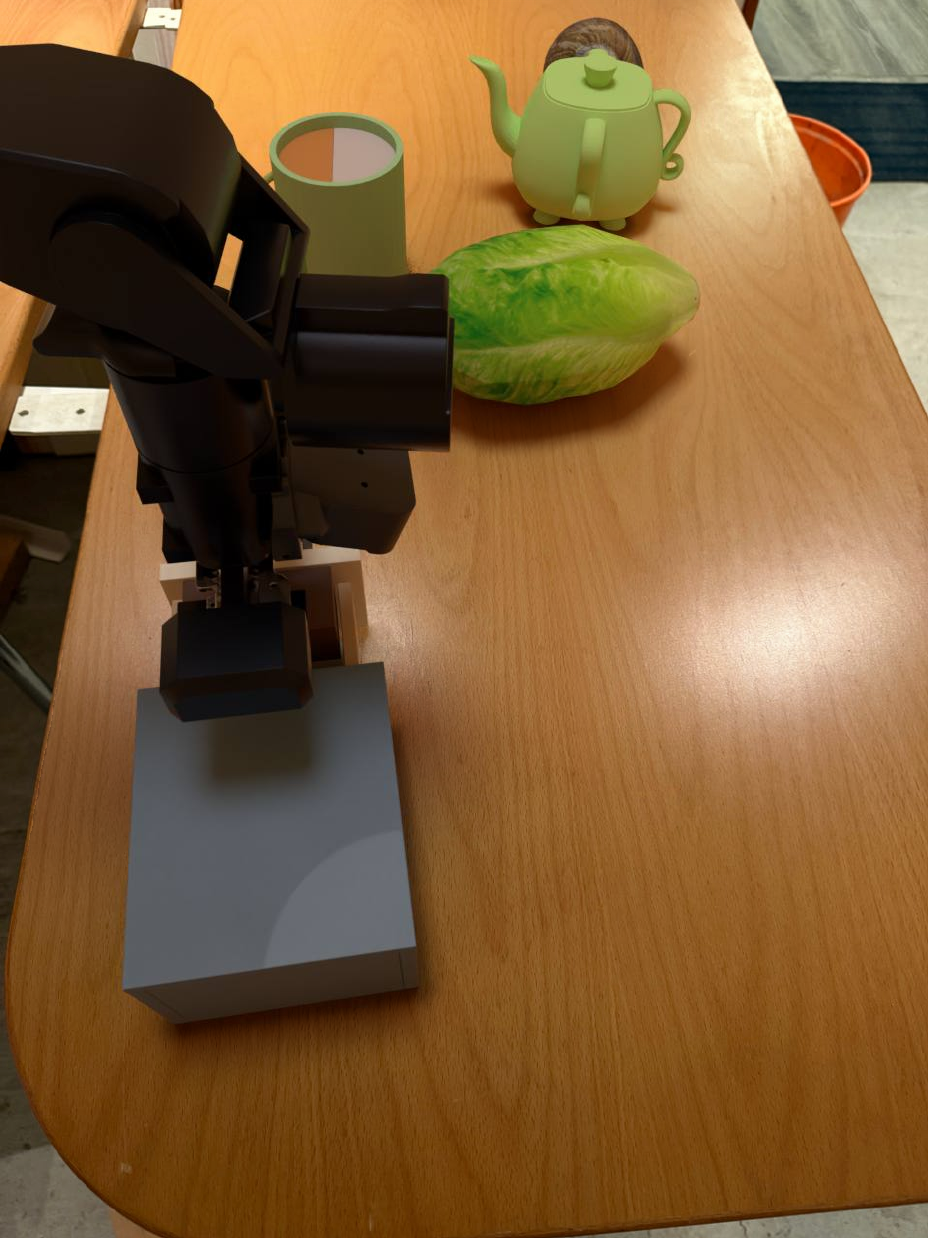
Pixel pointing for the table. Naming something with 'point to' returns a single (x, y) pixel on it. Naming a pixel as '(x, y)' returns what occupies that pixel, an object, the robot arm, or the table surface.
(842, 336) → the table surface
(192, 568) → the drawer
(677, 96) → the teapot
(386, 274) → the mug
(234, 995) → the cabinet
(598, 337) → the lettuce
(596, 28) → the seashell
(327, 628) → the chocolate bar
